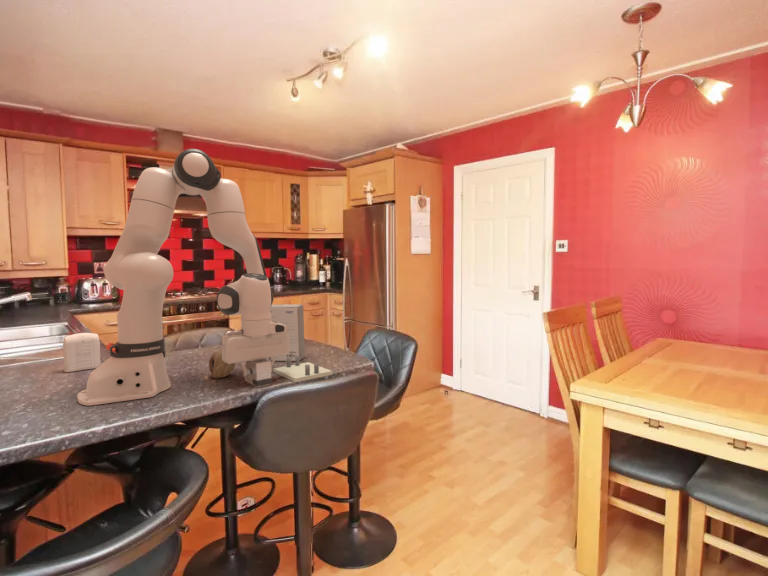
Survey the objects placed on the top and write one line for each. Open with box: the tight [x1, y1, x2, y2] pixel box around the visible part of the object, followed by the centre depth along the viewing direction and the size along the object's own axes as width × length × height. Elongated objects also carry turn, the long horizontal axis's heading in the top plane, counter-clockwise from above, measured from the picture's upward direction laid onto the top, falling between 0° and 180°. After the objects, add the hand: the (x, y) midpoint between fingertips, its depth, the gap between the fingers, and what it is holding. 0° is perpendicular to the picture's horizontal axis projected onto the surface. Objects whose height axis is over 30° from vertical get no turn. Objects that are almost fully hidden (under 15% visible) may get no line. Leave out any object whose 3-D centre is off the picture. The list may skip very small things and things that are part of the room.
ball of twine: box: [208, 347, 236, 379], centre depth 137 cm, size 9×8×10 cm
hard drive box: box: [264, 304, 306, 362], centre depth 159 cm, size 16×8×20 cm, turn 84°
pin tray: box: [272, 356, 333, 383], centre depth 139 cm, size 13×15×4 cm
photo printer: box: [62, 332, 102, 373], centre depth 145 cm, size 10×4×12 cm, turn 135°
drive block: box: [244, 358, 273, 388], centre depth 130 cm, size 5×9×7 cm, turn 40°
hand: (257, 373), depth 130 cm, fingers open, 5 cm apart
